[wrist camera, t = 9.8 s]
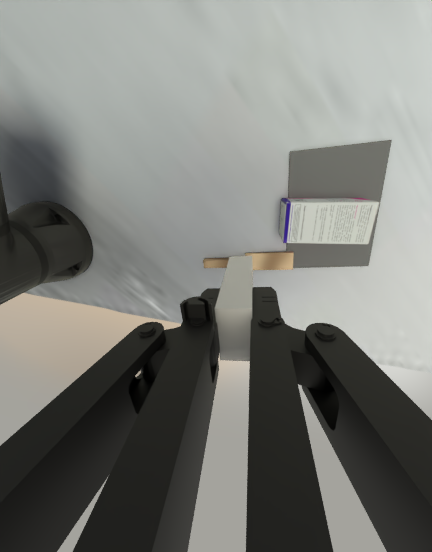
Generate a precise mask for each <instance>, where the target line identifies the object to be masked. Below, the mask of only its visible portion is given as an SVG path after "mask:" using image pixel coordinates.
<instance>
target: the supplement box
mask: <svg viewBox="0 0 432 552" xmlns="http://www.w3.org/2000/svg"><path fill="white" fill-rule="evenodd" d="M378 207H379V202H377V201H373V200H368V199H364V198H282V199H281V213H280V226H279V234H280V236H281V238H282V241H283V243H314V244H369V240H370V236H371V232H372V228H373V224H374V221H375V217H376V214H377V210H378Z"/></svg>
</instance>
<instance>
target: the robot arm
mask: <svg viewBox="0 0 432 552" xmlns="http://www.w3.org/2000/svg"><path fill="white" fill-rule="evenodd" d="M91 260H92V243H91V240H90V237H89V234H88V232H87V230H86V228H85V227H84V225H83V224H82V223H81V221H80V220H79V219H78V218H77V217H76V216H75V215H74V214H73V213H72V212H71V211H69V210H68V209H66V208H65V207H63V206H61V205H59V204H56V203H52V202H35V203H29V204H26V205H23V206H21V207H20V208H18V209H16V210H14V211H13V212H11V213H9V214H8V213H7V208H6V203H5V197H4V192H3V186H2V180H1V174H0V304H2V303H4V302H6V301H8V300H10V299H12V298H14V297H16V296H18V295H19V294H21V293H24V292H26V291H27V290H29V289H31V288H33V287H35V286H37V285H39V284H41V283H48V282H55V281H62V280H68V279H71V278H74V277H76V276H77V275H79V274H81V273H83V272H84V271H85V270H86V269H87V268H88V266H89V265H90V263H91ZM180 307H181V313H182V318H183V322H182V324H181V326H180V327H177V328H174V329H168V330H164V327H163V326H162V324H160V323H158V322H149V323H145V324H142V325H140V326H138V327H137V328H135V329H134V330H133V331H132V332H130V333H129V334H128V335H127V336H126V337H125V338H124V339H122V340H121V341H120V342H119V343H118V344H117V345H116V346H114V347H113V348H112V349H111V350H110V351H109V352H108V353H106V354H105V355H104V356H103V357H102V358H101V359H100V360H98V361H97V362H96V363H95V364H94V365H93V366H91V367H90V368H89V369H88V370H87V371H86V372H85V373H83V374H82V375H81V376H80V377H79V378H78V379H77V380H75V381H74V382H73V383H72V384H71V385H70V386H69V387H67V388H66V389H65V390H64V391H63V392H62V393H60V394H59V395H58V396H57V397H56V398H55V399H54V400H52V401H51V402H50V403H49V404H48V405H47V406H46V407H44V408H43V409H42V410H41V411H40V412H39V413H38V414H36V415H35V416H34V417H33V418H32V419H31V420H30V421H29V422H27V423H26V424H25V425H24V426H23V427H21V428H20V429H19V430H18V431H17V432H16V433H15V434H13V435H12V436H11V437H10V438H9V439H8V440H7V441H6V442H4V443H3V444H2V445H1V446H0V552H57V551H58V549H59V548H60V546H61V545H62V543H63V542H64V540H65V539H66V537H67V536H68V535H69V533H70V531H71V530H72V528H73V527H74V525H75V524H76V523H77V521H78V520H79V518H80V517H81V515H82V514H83V512H84V511H85V509H86V508H87V507H88V505H89V504H90V502H91V501H92V499H93V498H94V496H95V495H96V493H97V492H98V490H99V489H100V488H101V486H102V484H103V483H104V482H105V480H106V479H107V477H108V476H109V477H108V479H107V481H106V483H105V485H104V487H103V489H102V492H101V494H100V496H99V498H98V500H97V502H96V504H95V506H94V508H93V510H92V512H91V515H90V517H89V519H88V521H87V523H86V525H85V527H84V529H83V531H82V533H81V535H80V538H79V540H78V542H77V544H76V546H75V548H74V550H73V552H187V551H188V545H189V539H190V533H191V527H192V521H193V516H194V510H195V504H196V499H197V493H198V487H199V481H200V475H201V470H202V464H203V458H204V452H205V446H206V441H207V435H208V429H209V423H210V418H211V412H212V406H213V400H214V394H215V389H216V383H217V377H218V371H219V365H218V357H219V353H220V360H233V361H250V380H249V429H248V433H249V434H248V479H247V481H248V482H247V528H246V530H247V531H246V552H333V548H332V544H331V539H330V535H329V530H328V525H327V520H326V515H325V511H324V506H323V501H322V496H321V492H320V487H319V482H318V478H317V473H316V468H315V463H314V459H313V454H312V449H311V444H310V440H309V435H308V430H307V426H306V421H305V416H304V412H303V407H302V402H301V397H300V393H299V389H298V384H299V385H302V389H303V391H304V393H305V395H306V397H307V399H308V401H309V403H310V404H311V407H312V408H313V410H314V412H315V414H316V416H317V418H318V420H319V422H320V424H321V426H322V428H323V430H324V432H325V433H326V435H327V437H328V439H329V441H330V443H331V445H332V447H333V448H334V450H335V453H336V455H337V456H338V458H339V460H340V462H341V464H342V466H343V468H344V469H345V472H346V474H347V476H348V477H349V480H350V481H351V483H352V485H353V487H354V489H355V491H356V493H357V495H358V497H359V499H360V501H361V503H362V505H363V506H364V508H365V510H366V512H367V514H368V516H369V518H370V520H371V522H372V524H373V526H374V528H375V529H376V531H377V533H378V535H379V537H380V539H381V541H382V543H383V545H384V547H385V549H386V551H387V552H432V420H431V419H430V418H429V417H428V416H427V415H426V414H425V413H424V412H423V411H422V410H421V409H420V408H419V407H418V406H417V405H416V404H415V403H414V402H413V401H412V400H411V399H410V398H409V397H408V396H407V395H406V394H405V393H404V392H403V391H402V390H401V389H400V388H399V387H398V386H397V385H396V384H395V383H394V382H393V381H392V380H391V379H390V378H389V377H388V376H387V375H386V374H385V373H384V372H383V371H382V370H381V369H380V368H379V367H378V366H377V365H376V364H375V363H374V362H373V361H372V360H371V359H370V358H369V357H368V356H367V355H366V354H365V353H364V352H363V351H362V350H361V349H360V348H359V347H358V346H357V345H356V344H355V343H354V342H353V341H352V340H351V339H350V338H349V337H348V336H347V335H346V334H345V333H344V332H343V331H342V330H341V329H339V328H338V327H336V326H333V325H331V324H326V323H315V324H311V325H309V326H308V327H307V328H306V331H303V330H298V329H295V328H292V327H290V326H288V325H286V324H285V322H284V320H283V318H281V315H280V310H279V305H278V300H277V295H276V291H275V290H274V289H273V288H272V287H253V263H252V256H231V257H229V261H228V264H227V268H226V271H225V274H224V278H223V281H222V285H221V288H220V289H206V290H205V291H204V292H203V293H202V294H201V296H200V297H192V298H189V299H186V300H184V301H183V302H182V303H181V304H180ZM140 370H141V374H140V375H139V376H137V377H135V375H136V374H137V373H138V372H139V371H140ZM109 474H110V475H109Z"/></svg>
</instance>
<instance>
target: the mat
mask: <svg viewBox="0 0 432 552" xmlns="http://www.w3.org/2000/svg"><path fill="white" fill-rule="evenodd" d="M391 141H392V140H387V141H378V142H370V143H361V144H353V145H344V146H335V147H327V148H318V149H310V150H301V151H292V152H290V161H289V192H288V198H364V199H368V200H373V201H377V202H379V206H380V200H381V195H382V190H383V184H384V179H385V173H386V168H387V162H388V157H389V152H390V146H391ZM378 211H379V207H378V210H377V214H376V217H375V221H374V224H373V228H372V232H371V236H370V240H369V244H314V243H287V252H294V255H293V268H310V267H345V266H368V265H369V260H370V255H371V249H372V244H373V238H374V233H375V227H376V222H377V217H378Z"/></svg>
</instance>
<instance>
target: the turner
mask: <svg viewBox="0 0 432 552" xmlns="http://www.w3.org/2000/svg"><path fill="white" fill-rule="evenodd" d="M293 255H294V252H265V253H245V256H252V263H253V270H288V269H293ZM228 261H229V258H206V259H204V260H203V263H204V268H227V264H228Z"/></svg>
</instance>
